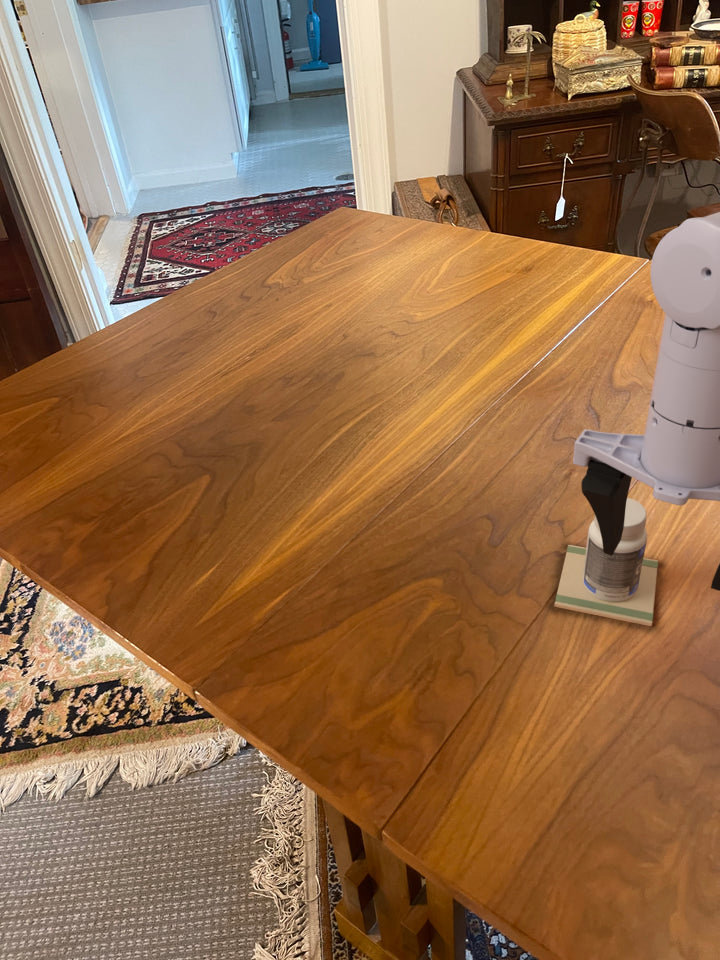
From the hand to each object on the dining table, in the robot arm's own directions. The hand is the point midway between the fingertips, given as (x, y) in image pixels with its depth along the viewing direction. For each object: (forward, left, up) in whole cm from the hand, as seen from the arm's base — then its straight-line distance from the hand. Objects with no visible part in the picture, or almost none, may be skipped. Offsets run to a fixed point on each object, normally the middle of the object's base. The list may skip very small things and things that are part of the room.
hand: (663, 563), depth 54 cm
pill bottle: (+5, -5, -9) cm, 12 cm away
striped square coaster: (+5, -6, -9) cm, 12 cm away
